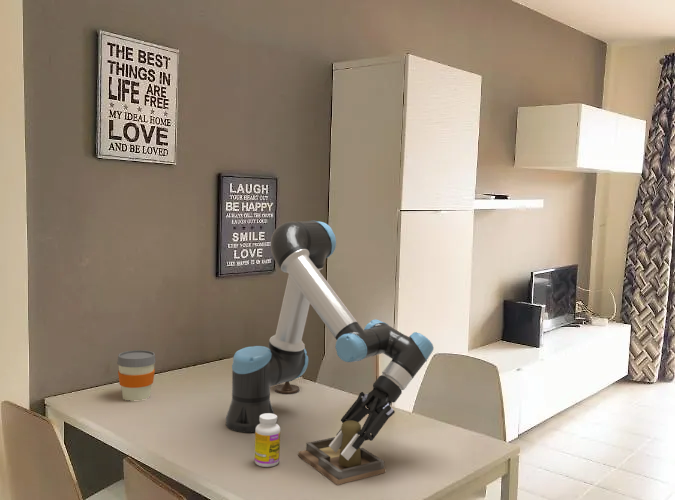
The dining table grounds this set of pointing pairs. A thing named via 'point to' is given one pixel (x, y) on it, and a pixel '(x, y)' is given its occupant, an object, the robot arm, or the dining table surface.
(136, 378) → the reusable coffee cup
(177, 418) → the dining table surface
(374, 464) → the keyhole board
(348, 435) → the olive tall rounded piece
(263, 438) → the supplement bottle
